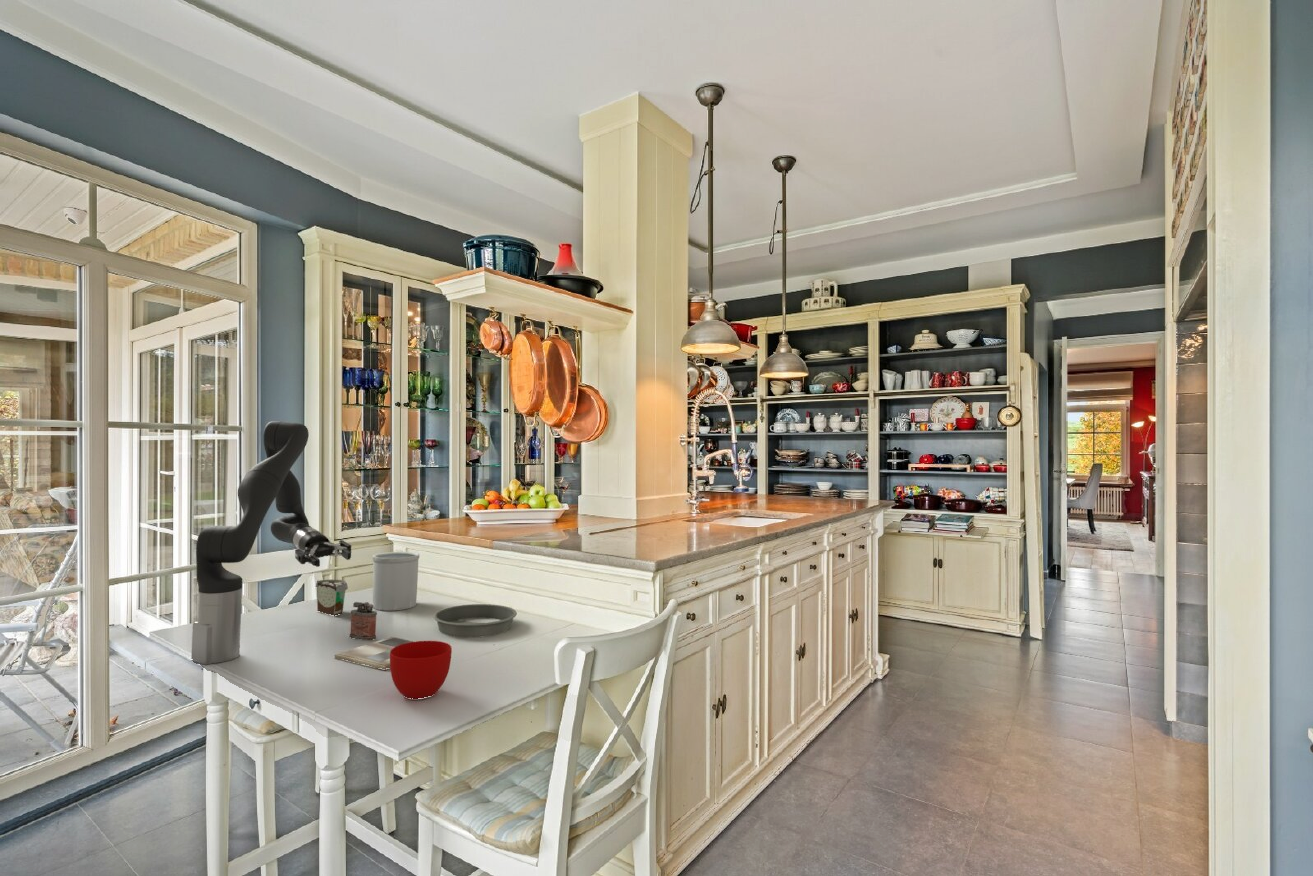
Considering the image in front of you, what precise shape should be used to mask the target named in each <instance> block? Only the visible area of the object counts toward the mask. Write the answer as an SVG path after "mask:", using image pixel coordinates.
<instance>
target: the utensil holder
mask: <svg viewBox="0 0 1313 876" xmlns="http://www.w3.org/2000/svg"><path fill="white" fill-rule="evenodd" d="M371 559H372V562H373V564H372V604H373V609H375V610H377V611H387V612H388V611H389V612H390V611H391V612H392V611H403V610H407V609H412V608H413V607H416V605H417V596H418V595H417V594H418V579H419V578H418V576H419V559H420V553H419V552H416V551H390V552H379V553H375V554H373V555H372V558H371Z"/></svg>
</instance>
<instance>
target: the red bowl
mask: <svg viewBox="0 0 1313 876" xmlns="http://www.w3.org/2000/svg"><path fill="white" fill-rule="evenodd" d="M452 652H453V649H452V646H451V645H450V643H447V642H444V641H438V640H418V641H417V640H416V641H413V642H409V643H405V644H401V645H398V646H396V647H394V648H393V649H392V650H391V651H390V669H389V670H390V676H391V679H392V682H393V684H394V687H395V688H396V690H397V691H398V692H399V693H400V694H401V695H402V696H403V697H404V696H405V697H407V698H411V699H412V698H413V699H418V698H424V697H428V696H432V695H433V694H435V695H436V693H437V692H438V691H439V690H440V688H441V687H442V686H443V685H444V683H445V681H446V679H447V677H448V675H449V672H450V666H451V663H452V654H453V653H452ZM405 697H404V698H405ZM432 697H433V696H432Z"/></svg>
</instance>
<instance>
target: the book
mask: <svg viewBox="0 0 1313 876" xmlns="http://www.w3.org/2000/svg"><path fill="white" fill-rule="evenodd" d="M409 642H414V641H413V640H408V639H404V638H399V637H394V636H389V637H386V638H383V639H380V640H377V641H373V642H370V643H367V644H364V645H361V646H358V647H354V648H350V649H348V650H345V651H341V652H339V653H335V654H334V659H335V658H338V659H337V660H339V659H344V660H348V661H351V662H355V663H359V664H365V665H369V666H372V667H375V668H382V669H386V668H390V651H391V650H392V649H393V648H394V647H396V646H398V645H401V644H405V643H409ZM351 662H350V663H351ZM355 663H354V664H355ZM359 664H358V665H359ZM375 668H374V669H375Z"/></svg>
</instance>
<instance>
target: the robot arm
mask: <svg viewBox="0 0 1313 876" xmlns="http://www.w3.org/2000/svg"><path fill="white" fill-rule="evenodd" d="M262 438H263V439H262V441H263V446H264V452H265V455H266V459H264V460H262V461H260V462H258V463H257V464H255V465H253V466H252V467H251V468H250V469H249V470H248V471H247V472H246V474H245V475H244V477H243V479H242V481H241V482H240V484H239V486H238V487H237V498H238V502H239V505H240V507H241V510H242V513H243V515H242V518H241V520H240V522H239V523H238V524H237V525H234V526H233V525H209V526H206V527H204V528H202V530H201V531H200V532H199V534H198V536H197V540H196V546H195V547H196V548H195V555H196V557H195V558H196V559H195V561H196V582H197V586H198V589H197V592H198V593H197V612H196V621H194V622H193V623H192V634H191V635H192V636H191V639H192V640H191V656H190V657H191V658H190V659H193V660H191V662H195V663H199V664H203V665H210V664H217V663H223V662H228V661H231V660H234V659H237V658H238V657H239V656H240V650H241V649H240V648H241V629H242V628H241V625H242V624H241V623H242V606H243V605H242V601H243V578H242V577H241V576H240V575H239V574H237V573H233V572H231V571H229V570H227V568H225V567H224V566H223V564H234V563H241V562H243V561H244V560H245V559H246V558H247V557H248V556H249V554H250V552H251V550H252V548H253V546H254V543H255V541H256V539H257V536H258V534H259V531H260V529H261V525H262V523H263V522H264V519H265V517H266V515H267V513H268V511H269V509H270V508H271V506H272V503H274V501H275V508H276V511H278V512H279V513H281V514H289V515H286V516H281V517H277V518H275V519H274V520H273V521H272V522H271V524H270V533H271V534H272V536H273V537H274V538H275V539H277V540H278V541H280V542H282V543H283V542H285V543H287V544H292V545H293V546H295V547H296V549H295V550H294V556H295V559H296V561H297V562H298V563H299V564H301V565H305V564H306V563H308V564H311V565H312V566H314V567H316V568H318V567H320V565H321V559H319V558H323V557H336V558H337V557H338V556H342V557H343V558H344V559H345V560H347V561H349V560H351V558H352V544H350V543H348V542H346V541H344V540H343V539H341V540H339V541H338V543H334V542H331V541H330V539H329V538H328V537H327V536H326V535H324V534H323V533H321V532H320V531H319V530H317V529H315V528H313V527H312V526H311V525H310V522H309V520H308V518H307V515H306V513H305V511H304V508H303V505H302V492H301V485H300V482H299V480H298V479H297V477H296V476H295V474H294V473H293V472H292V471H291V468H292V467H293V466H294V464H295V463H296V461H298V459H299V457H300V455H302V453H303V451H304V450H305V448H306V445H307V443H308V441H309V429H308V427H307V426H306V425H304V424H302V423H298V422H291V421H288V422H287V421H280V420H272V421H269V422H267V423H266V425H265V426H264V429H263V434H262ZM340 551H341V552H340Z"/></svg>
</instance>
